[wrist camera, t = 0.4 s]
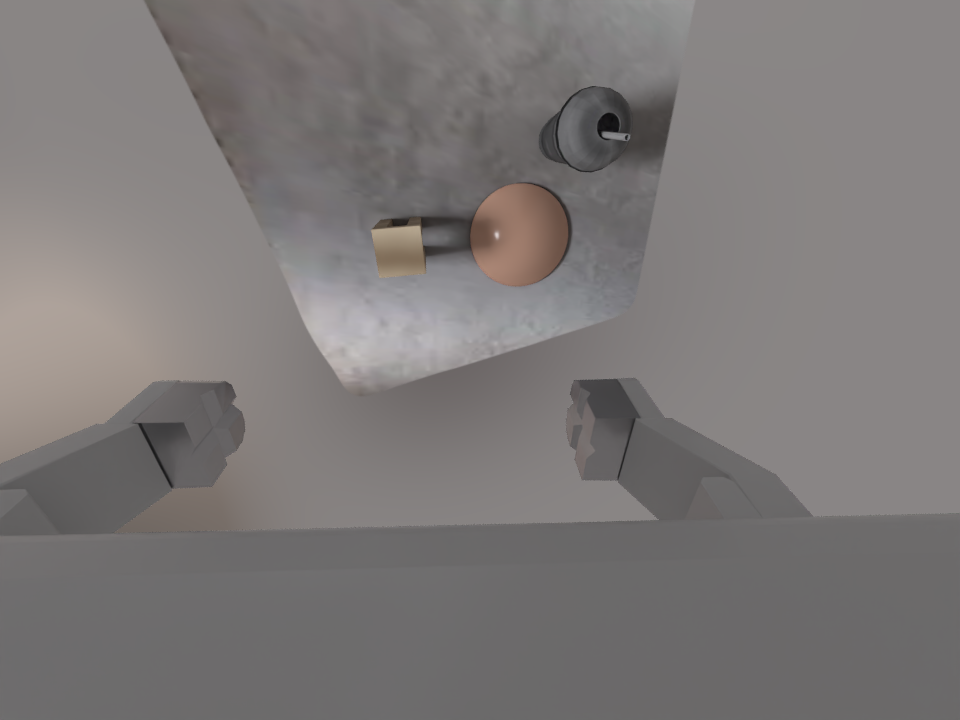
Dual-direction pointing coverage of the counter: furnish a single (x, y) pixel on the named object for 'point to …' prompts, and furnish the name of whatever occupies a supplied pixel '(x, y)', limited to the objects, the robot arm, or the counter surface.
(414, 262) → the stool
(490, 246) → the coaster
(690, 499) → the robot arm
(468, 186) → the counter surface
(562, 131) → the beverage cup
